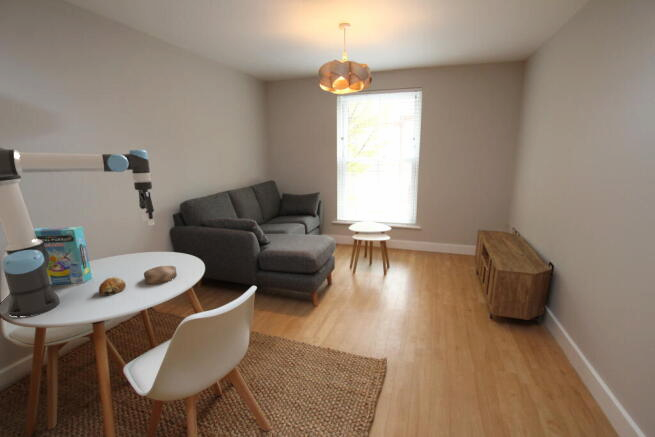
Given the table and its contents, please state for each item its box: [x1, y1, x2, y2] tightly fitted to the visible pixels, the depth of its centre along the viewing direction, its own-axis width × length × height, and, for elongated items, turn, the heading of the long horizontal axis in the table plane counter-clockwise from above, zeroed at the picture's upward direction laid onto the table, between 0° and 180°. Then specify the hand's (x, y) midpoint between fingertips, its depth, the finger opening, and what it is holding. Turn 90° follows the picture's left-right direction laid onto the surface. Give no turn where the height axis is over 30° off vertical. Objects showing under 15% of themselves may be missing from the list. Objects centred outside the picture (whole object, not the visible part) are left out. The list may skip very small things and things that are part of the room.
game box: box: [34, 226, 93, 286], centre depth 147 cm, size 20×6×27 cm, turn 95°
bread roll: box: [98, 277, 127, 296], centre depth 139 cm, size 10×10×8 cm
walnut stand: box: [143, 265, 178, 286], centre depth 151 cm, size 14×14×4 cm
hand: (148, 223), depth 157 cm, fingers open, 13 cm apart
